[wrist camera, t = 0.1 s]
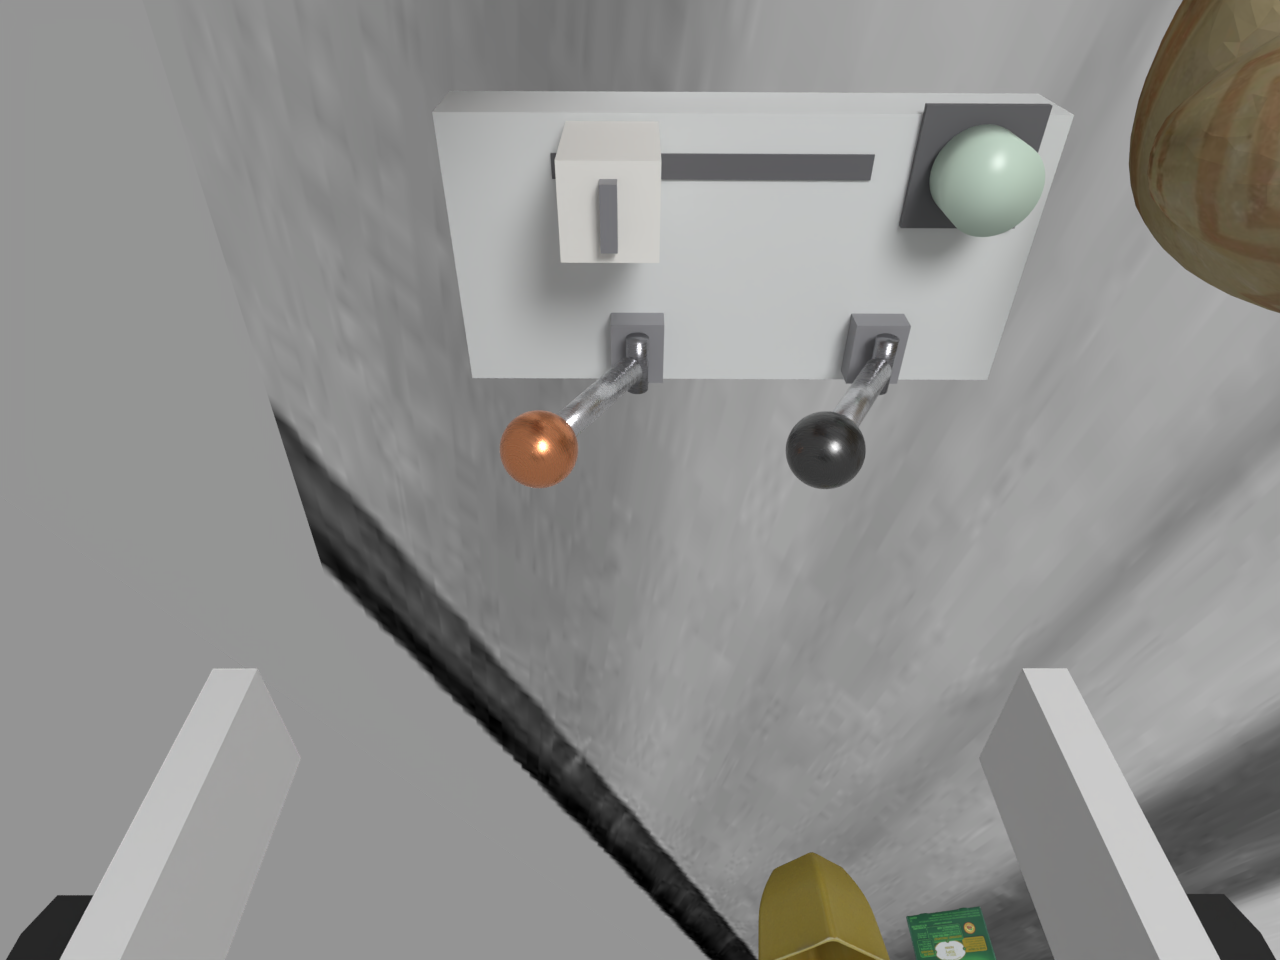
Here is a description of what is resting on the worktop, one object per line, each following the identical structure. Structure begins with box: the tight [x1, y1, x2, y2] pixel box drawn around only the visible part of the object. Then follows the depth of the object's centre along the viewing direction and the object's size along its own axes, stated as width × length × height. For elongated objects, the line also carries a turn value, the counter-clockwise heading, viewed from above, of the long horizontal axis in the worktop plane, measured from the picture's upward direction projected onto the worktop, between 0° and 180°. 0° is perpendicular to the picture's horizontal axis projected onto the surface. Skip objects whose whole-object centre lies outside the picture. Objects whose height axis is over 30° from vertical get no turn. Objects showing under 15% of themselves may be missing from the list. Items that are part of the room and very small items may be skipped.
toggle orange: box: [500, 332, 649, 488], centre depth 32 cm, size 3×3×10 cm
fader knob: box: [555, 121, 661, 263], centre depth 29 cm, size 4×4×6 cm
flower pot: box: [758, 852, 890, 960], centre depth 73 cm, size 9×9×9 cm
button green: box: [929, 124, 1045, 237], centre depth 30 cm, size 4×4×2 cm
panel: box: [432, 91, 1074, 384], centre depth 35 cm, size 12×25×5 cm, turn 90°
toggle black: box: [786, 333, 899, 489], centre depth 32 cm, size 3×3×10 cm
